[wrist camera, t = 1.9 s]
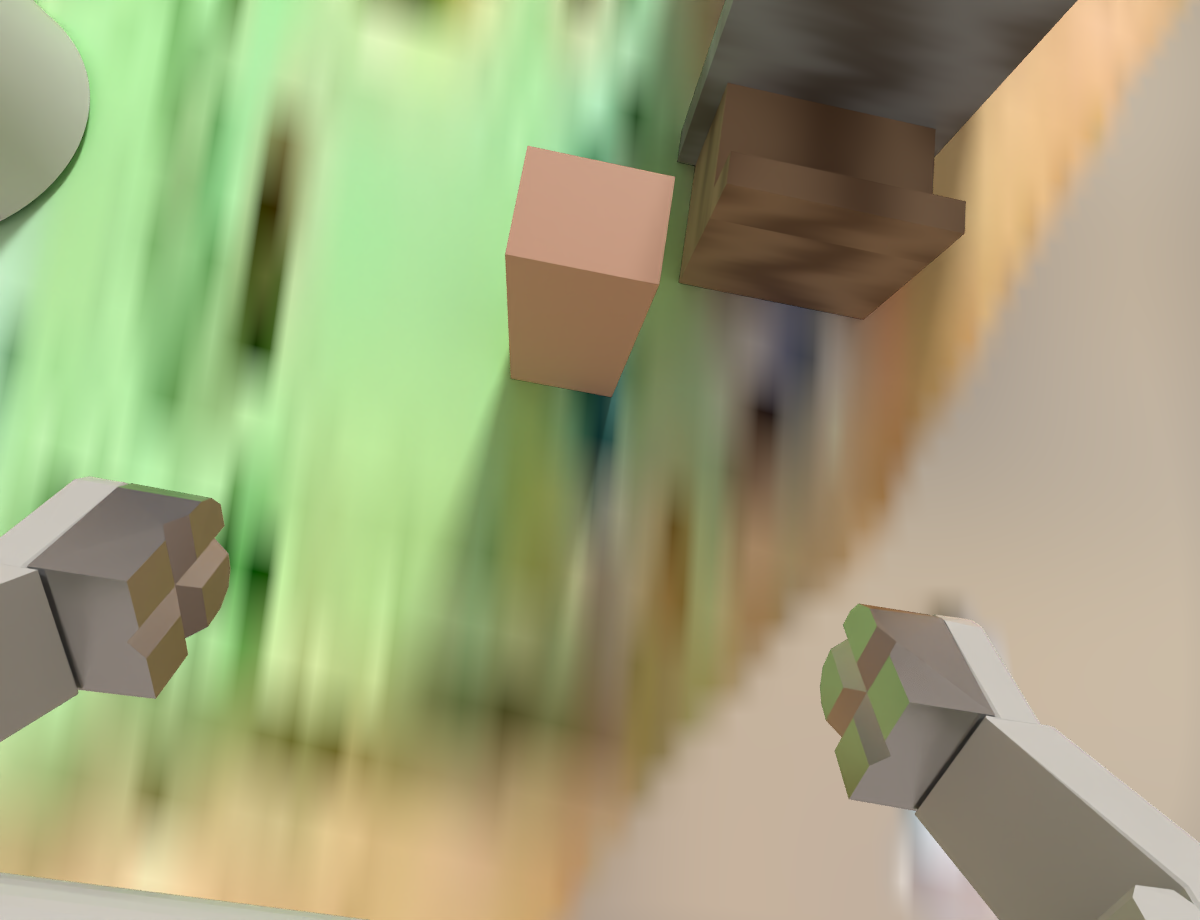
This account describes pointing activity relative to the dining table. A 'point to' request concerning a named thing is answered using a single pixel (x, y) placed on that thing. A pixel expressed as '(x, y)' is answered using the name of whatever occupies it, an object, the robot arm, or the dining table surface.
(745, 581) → the dining table surface
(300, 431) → the dining table surface
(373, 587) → the dining table surface
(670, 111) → the dining table surface
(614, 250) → the salmon brown rectangular block
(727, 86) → the wall board with cleat
